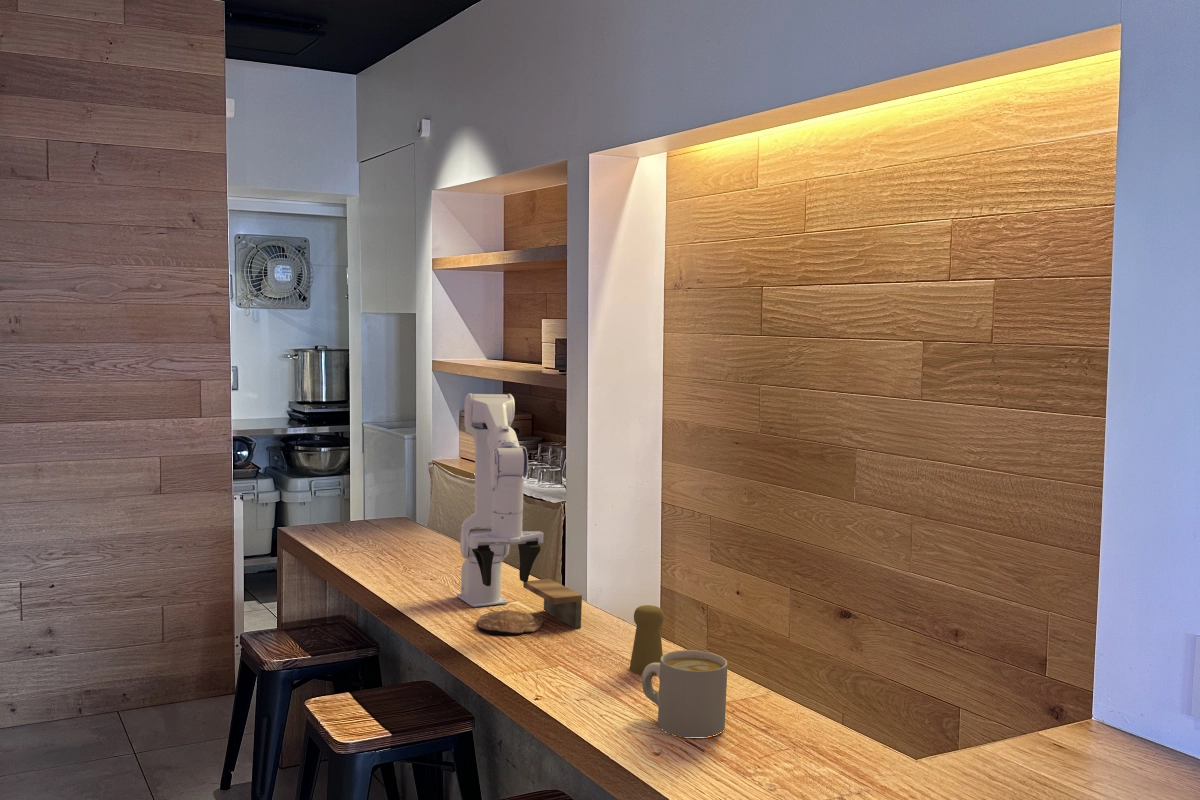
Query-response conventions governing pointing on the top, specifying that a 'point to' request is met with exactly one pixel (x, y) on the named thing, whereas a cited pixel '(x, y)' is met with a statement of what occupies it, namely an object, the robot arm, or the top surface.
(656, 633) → the olive pepper mill
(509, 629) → the shell
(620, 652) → the top surface
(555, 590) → the walnut shelf
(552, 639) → the top surface
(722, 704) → the coffee mug
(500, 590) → the robot arm
